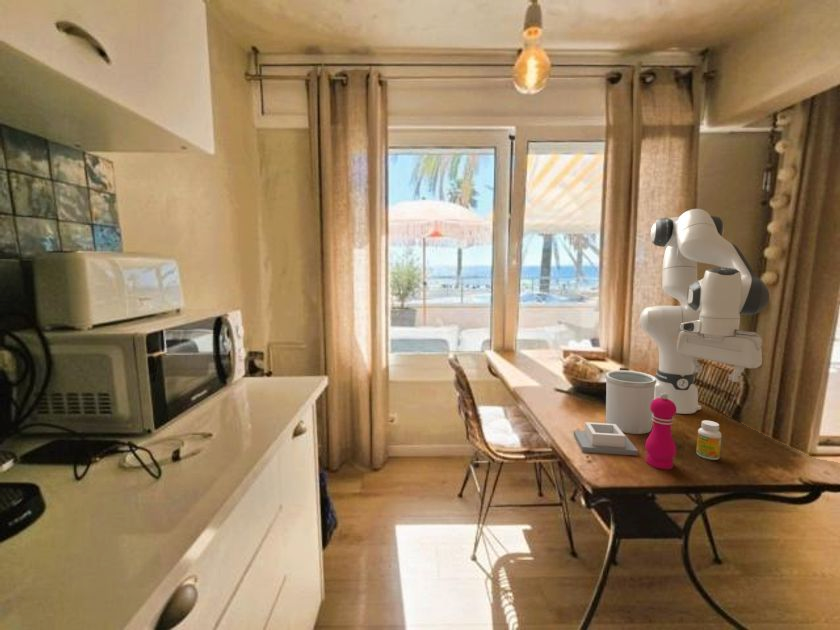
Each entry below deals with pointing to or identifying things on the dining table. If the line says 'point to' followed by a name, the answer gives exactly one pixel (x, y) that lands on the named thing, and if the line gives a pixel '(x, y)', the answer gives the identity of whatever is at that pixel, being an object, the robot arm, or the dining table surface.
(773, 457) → the dining table surface
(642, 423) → the utensil holder
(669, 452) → the pepper mill
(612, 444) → the docking board
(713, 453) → the supplement bottle
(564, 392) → the dining table surface
